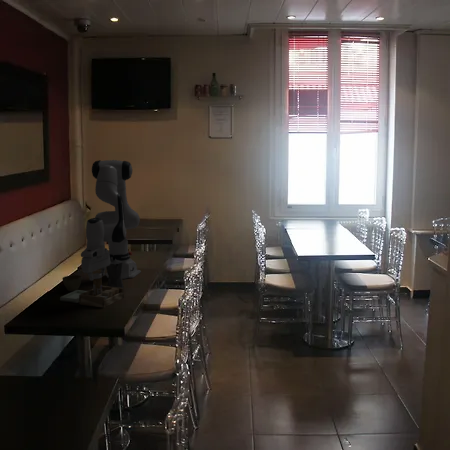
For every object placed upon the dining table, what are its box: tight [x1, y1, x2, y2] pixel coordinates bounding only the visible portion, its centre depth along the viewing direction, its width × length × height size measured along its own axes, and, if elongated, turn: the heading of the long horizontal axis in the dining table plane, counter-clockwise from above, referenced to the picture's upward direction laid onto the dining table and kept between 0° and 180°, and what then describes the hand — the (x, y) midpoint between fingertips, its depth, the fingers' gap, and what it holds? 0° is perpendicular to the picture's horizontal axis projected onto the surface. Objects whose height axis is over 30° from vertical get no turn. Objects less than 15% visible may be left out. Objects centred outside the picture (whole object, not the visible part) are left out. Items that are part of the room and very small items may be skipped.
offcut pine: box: [102, 290, 113, 298], centre depth 276 cm, size 4×4×6 cm
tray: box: [59, 289, 88, 304], centre depth 284 cm, size 14×10×2 cm
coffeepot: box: [106, 257, 125, 289], centre depth 300 cm, size 15×9×18 cm, turn 25°
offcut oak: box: [110, 288, 119, 296], centre depth 282 cm, size 5×4×5 cm
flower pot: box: [62, 274, 83, 292], centre depth 299 cm, size 10×10×7 cm
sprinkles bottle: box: [92, 272, 103, 296], centre depth 280 cm, size 5×5×13 cm
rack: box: [78, 285, 125, 309], centre depth 278 cm, size 18×14×5 cm
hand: (97, 278), depth 278 cm, fingers open, 8 cm apart
